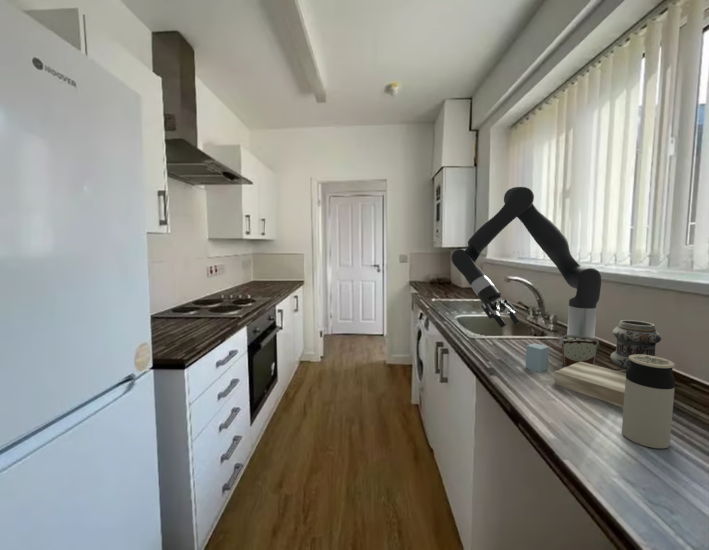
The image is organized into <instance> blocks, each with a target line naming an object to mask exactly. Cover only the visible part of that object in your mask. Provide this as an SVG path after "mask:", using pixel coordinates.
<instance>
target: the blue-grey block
mask: <svg viewBox="0 0 709 550" xmlns="http://www.w3.org/2000/svg"><path fill="white" fill-rule="evenodd" d="M525 348H526V349H525V366H524V368H525V369H527V368H528V370H530V369H531V371H533V370H534V371H535V372H537V373H542V372H545V371H547V370H549V358H550V357H549V356H550V353H549V352H550V346H547V345H545V344H544V345H543V344H539V343H535V342H534V343H530V344H527V345H526V347H525Z"/></svg>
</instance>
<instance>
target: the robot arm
mask: <svg viewBox="0 0 709 550" xmlns="http://www.w3.org/2000/svg"><path fill="white" fill-rule="evenodd" d="M534 199H535V194H534V192H533V190H532V189H530V188H528V187H525V186H515V187H512V188H508V189H507V191H506V192H505V193H504V196H503V202H504V203H503V204H504V205H503V206H502V208H500V209H499V211H498V212H497V213H496V214H495V215H494V216H492V217H491V218H490V219H489V220H488V221H486V222H484V224H483V225H481V226H480V227H478V228H479V229H478V230H476V231H475V232H474V233H473V235H472V236H471V237H470V238H469V239H468V241H467V247H466V248H465V249H461V248H460V249H456V250H454V251H453V252H452V254H451V256H450V257H451V262H452V264H453V265H454V266H455V267H456V269H457V270H458V271H459V272H460V273H461V274H462V275H463V276H464V279H465V280H466V281H467V283H468V284H469V285H470V286H471V289H472V290H473V292H474V293H475V295H476V296H477V297H478V299H479V301H480V302H481V303H482V304H481V308H482V310H483V311H484V312H485V315H486V316H487V318H488V319H490V320H491V319H493V320H495V322H496V323H497V324H498V326H500V328H505V326H507V323H506V321H505V320H504V318H503V317H502V316H501V315H500V313H502V314H503V315H504V314H505V315H507V316H508V317H509V318H510V320H511V321H512V322H513V323H514V325H518V324H519V323H521V320H520V319H519V317H518V316H517V315H516V312H517V311H518V310H517V308H516V307H515V305H513V303H512V302H510V300H509V298H505V299H504V300H503V299H502V298H501V295H502V294H501V292H500V290H499V289H498V288H497V287H496V285H495V284H494V283H493V282H492V280H491V279H490V278H489V277H488V276H487V275H486V274H485V273H484V271H483V270H482V269H481V268H480V267H479V266H477V264H476V261H477V260H478V258H479V257H480V255H481V253H482V252H483V250H485V248H486V247H488V246H489V244H490V243H492V241H493V240H494V239H495V238H496V237H497V236H498V235H499V234H501V232H502V231H503V230H504V229H505V228H506V227H507V226H508V225H509V224H510V223H511V222H512V221H514V220H516V219H517V218H518V220H520V223H522V224H523V225H524V227H525V229H526V230H527V231H528V233H529V234H530V235H531V237H532V239H534V241H535V243H536V244H537V245H538V246H539V247H540V249H541V250H542V251H543V253H544V254H546V256H547V257H548V258H549V260H550V261H551V262H552V263H553V264H554V265H555V266H556V268H557V269H558V271H559V272H560V274H561V275H562V277H563V279H564V280H565V282H566V283H567V285H569V286H570V287H571V288H573V289H576V293H575V296H573V297H571V298H569V299H568V310H567V311H568V314H567V315H568V316H567V331H566V335H579V336H586V337H591V338H594V339H595V334H596V332H595V331H596V318H597V317H596V316H597V304H598V302H599V300H600V297H601V287H602V276H601V273H600V271H599V270H598V269H596V268H593V267H587V266H583V265H582V266H581V264H580V263H579V262H578V261H576V260H575V258H574V257H573V256H572V254H571V251H570V245H569V241H568V239H567V238H566V236H565V234H563V232H562V231H561V230H560V228H559V227H558V226H557V225H556V224H555V223H554V222H552V221H551V220H550V219H549V218H548V217H547V216H545V215H544V214H543V213H541V211H539V209H537V207H536V206H535V205H534V201H535V200H534Z"/></svg>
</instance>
